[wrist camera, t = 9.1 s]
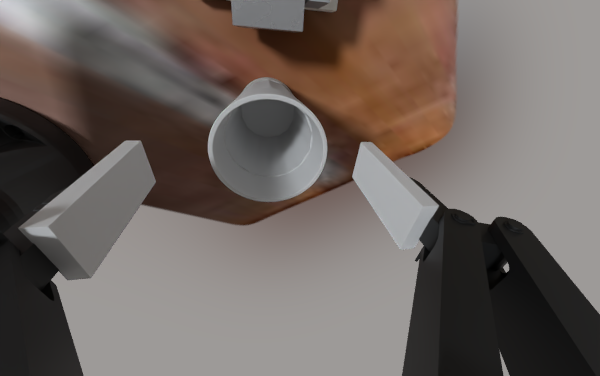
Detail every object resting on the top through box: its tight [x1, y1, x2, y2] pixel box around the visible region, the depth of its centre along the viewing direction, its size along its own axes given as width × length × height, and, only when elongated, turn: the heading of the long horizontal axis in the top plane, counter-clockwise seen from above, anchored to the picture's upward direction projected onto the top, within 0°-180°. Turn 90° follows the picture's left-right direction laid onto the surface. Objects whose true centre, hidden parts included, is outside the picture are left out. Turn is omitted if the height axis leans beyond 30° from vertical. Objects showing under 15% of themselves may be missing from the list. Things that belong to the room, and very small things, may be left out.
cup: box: [208, 77, 327, 202], centre depth 19 cm, size 8×8×12 cm
